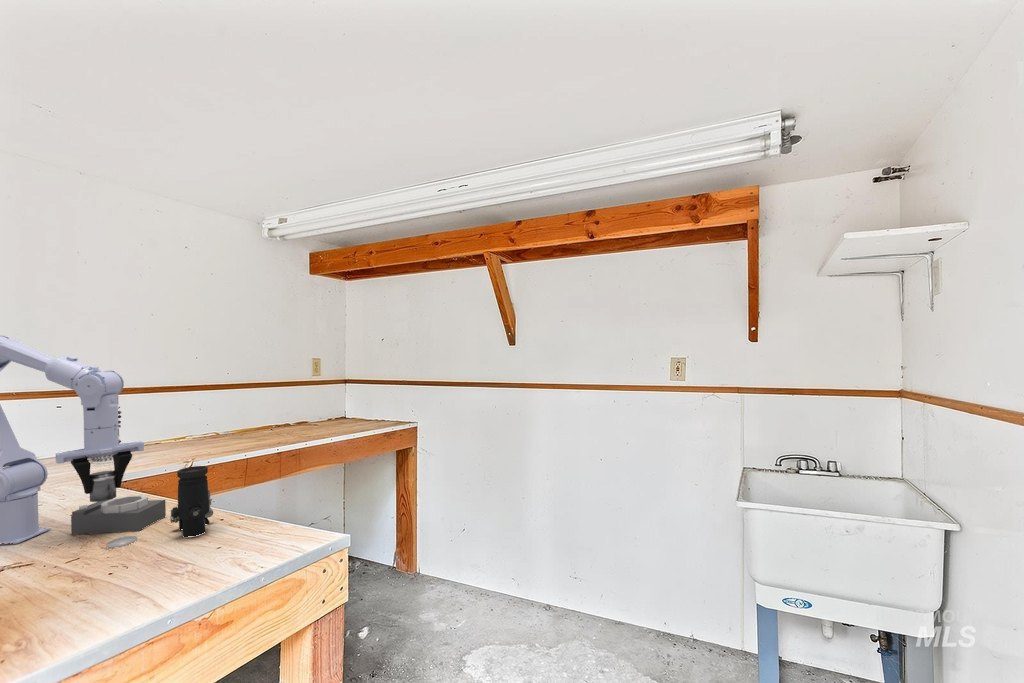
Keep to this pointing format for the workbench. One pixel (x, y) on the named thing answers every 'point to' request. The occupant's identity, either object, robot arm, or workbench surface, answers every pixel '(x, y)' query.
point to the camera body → (117, 515)
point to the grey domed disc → (121, 541)
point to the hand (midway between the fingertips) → (102, 490)
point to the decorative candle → (110, 457)
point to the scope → (192, 501)
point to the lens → (103, 486)
